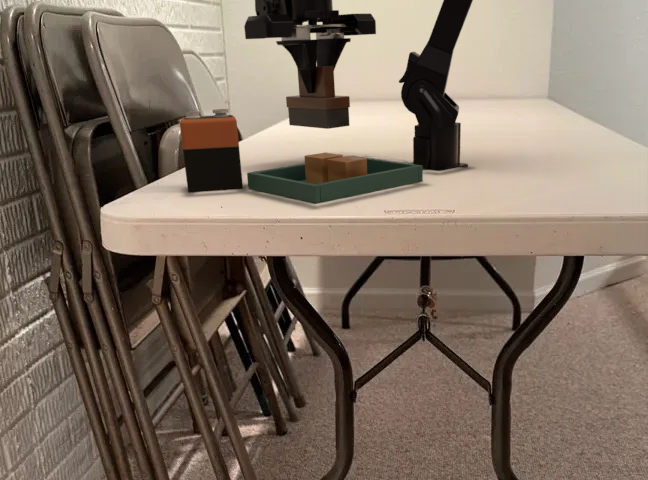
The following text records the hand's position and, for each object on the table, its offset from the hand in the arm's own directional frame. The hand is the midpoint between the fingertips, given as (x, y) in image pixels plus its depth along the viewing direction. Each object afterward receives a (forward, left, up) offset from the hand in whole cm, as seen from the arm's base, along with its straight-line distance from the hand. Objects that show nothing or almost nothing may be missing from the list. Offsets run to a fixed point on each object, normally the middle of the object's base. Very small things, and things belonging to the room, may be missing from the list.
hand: (317, 92), depth 101 cm
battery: (+19, +2, -11) cm, 22 cm away
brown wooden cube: (+8, +11, -10) cm, 17 cm away
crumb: (+8, +15, -10) cm, 20 cm away
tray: (+8, +13, -11) cm, 19 cm away
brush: (0, 0, -5) cm, 4 cm away
